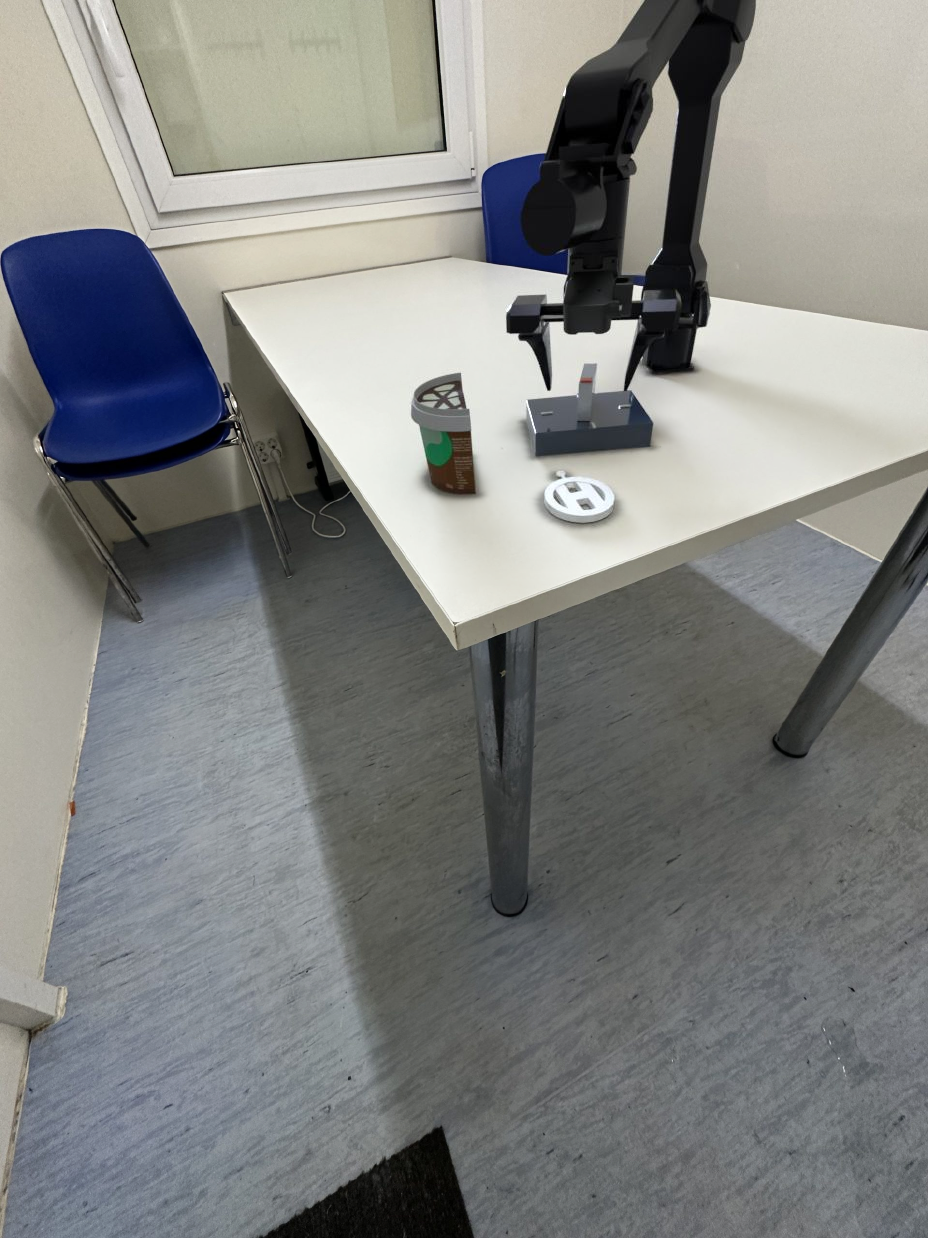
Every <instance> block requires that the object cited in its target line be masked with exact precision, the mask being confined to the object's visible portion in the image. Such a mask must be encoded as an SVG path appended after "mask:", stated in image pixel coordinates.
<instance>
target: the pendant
mask: <svg viewBox="0 0 928 1238" xmlns="http://www.w3.org/2000/svg"><path fill="white" fill-rule="evenodd" d="M566 474H567V472H566V471H565V470H562V469H561V470H557V471H556V473H555V475H556V477H558V479H556V480H554V481H553V482H550V484H548V485H547V487H546V488H545V490H544V495H543V496H544V498H543V500H544V503H543V504H544V506H545V508H546V509H547V511H548V512H549V513H550V514H551V515H553V516H555V517H556V518H559V519H561V520H564V521H567V522H572V523H581V524H582V523H583V524H584V523H593V522H597V521H600V520H603V519H605V518H607V517H608V516H609V515H610V514H612V512H613V510H614V507H615V494H614V491H613V490H612V489H611V488H610V487H609V486H608V485H607V484H605V483H603V482H601V481H600V480H596V479H593V478H590V477H585V476H570V477H566ZM559 478H560V479H559ZM572 489H576V491H575V492H570V491H569V490H572ZM555 498H556V499H557V500H558V502H559V503H558V502H557V501H556V499H555ZM581 505H588V506H589V508H590V509H583V507H582V506H581Z"/></svg>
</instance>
